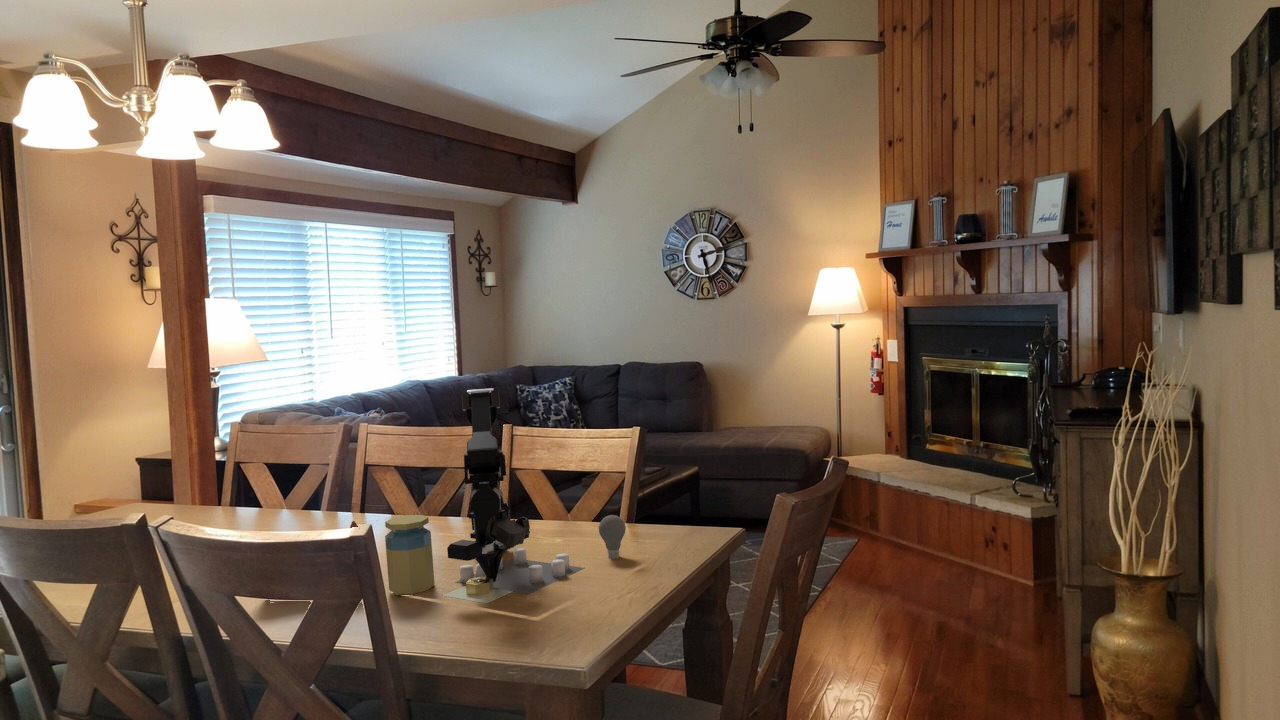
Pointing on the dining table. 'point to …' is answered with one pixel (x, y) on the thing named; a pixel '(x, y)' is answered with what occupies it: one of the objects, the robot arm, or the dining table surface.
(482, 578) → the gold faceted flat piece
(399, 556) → the jar
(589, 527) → the dining table surface
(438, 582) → the dining table surface
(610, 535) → the light bulb
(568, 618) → the dining table surface
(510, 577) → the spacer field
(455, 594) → the tile
